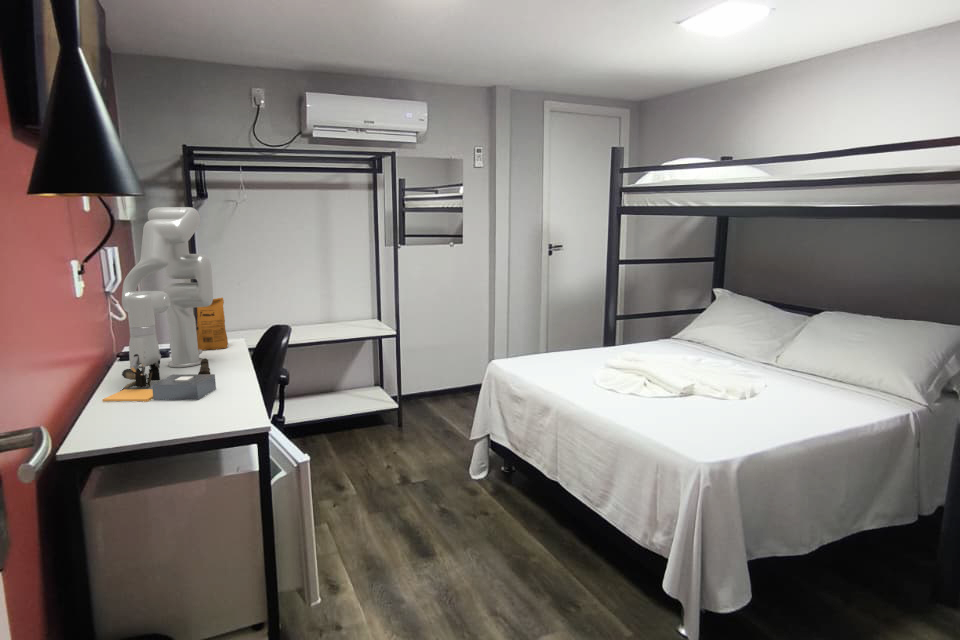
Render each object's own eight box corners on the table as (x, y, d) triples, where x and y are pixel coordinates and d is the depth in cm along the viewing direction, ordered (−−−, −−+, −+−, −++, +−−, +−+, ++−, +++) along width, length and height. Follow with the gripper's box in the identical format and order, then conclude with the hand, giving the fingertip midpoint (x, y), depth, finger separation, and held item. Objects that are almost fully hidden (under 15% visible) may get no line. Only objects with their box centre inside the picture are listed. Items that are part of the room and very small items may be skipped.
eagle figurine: (152, 379, 202) (121, 378, 198) (153, 365, 198) (122, 363, 194) (149, 396, 196) (118, 395, 192) (150, 381, 192) (118, 380, 188)
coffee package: (197, 347, 259) (193, 297, 256) (228, 344, 264) (224, 296, 260) (196, 351, 250) (191, 300, 247) (228, 349, 255) (224, 298, 251)
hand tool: (210, 381, 204) (209, 368, 204) (198, 382, 203) (197, 369, 202) (213, 368, 222) (212, 356, 221) (202, 369, 220) (201, 357, 220)
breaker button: (182, 388, 189) (181, 376, 189) (194, 388, 189) (193, 376, 189) (175, 392, 186) (174, 379, 185) (188, 392, 185) (187, 379, 185)
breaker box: (174, 389, 194) (172, 374, 193) (216, 389, 193) (214, 374, 193) (153, 400, 182) (151, 384, 181) (198, 400, 182) (196, 384, 181)
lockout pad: (124, 391, 191) (124, 389, 191) (166, 391, 191) (166, 389, 191) (102, 401, 181) (102, 399, 181) (147, 401, 180) (147, 399, 180)
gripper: (146, 327, 202) (152, 377, 205) (115, 336, 185) (121, 391, 188) (168, 326, 202) (173, 377, 205) (138, 336, 185) (144, 390, 188)
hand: (148, 383), depth 196 cm, fingers closed on eagle figurine, 7 cm apart
